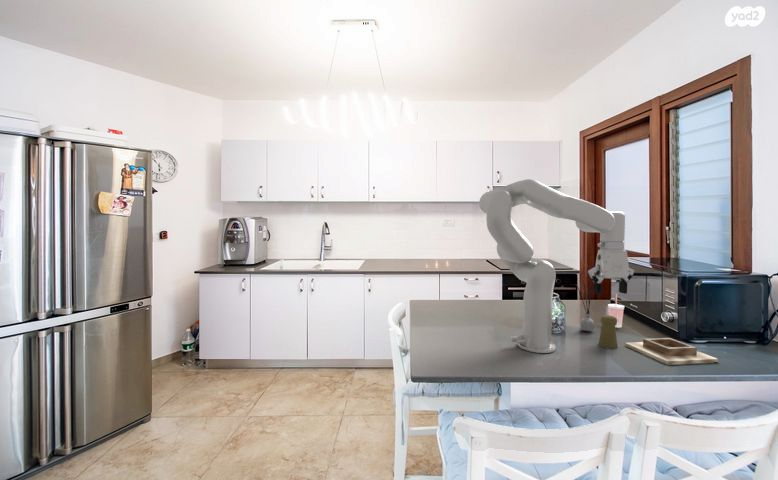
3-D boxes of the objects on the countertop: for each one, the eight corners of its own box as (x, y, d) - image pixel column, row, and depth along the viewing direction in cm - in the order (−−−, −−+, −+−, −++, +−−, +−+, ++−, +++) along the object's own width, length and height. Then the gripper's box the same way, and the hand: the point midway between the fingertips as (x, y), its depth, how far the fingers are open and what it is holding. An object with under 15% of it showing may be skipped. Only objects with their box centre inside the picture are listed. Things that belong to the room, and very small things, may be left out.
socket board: (667, 364, 119) (668, 353, 118) (625, 345, 137) (625, 335, 136) (717, 362, 121) (718, 351, 121) (669, 344, 139) (670, 334, 139)
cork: (617, 349, 133) (618, 318, 132) (597, 346, 136) (599, 316, 135) (617, 344, 138) (618, 315, 137) (598, 341, 141) (599, 312, 140)
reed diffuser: (597, 335, 149) (599, 285, 148) (578, 333, 151) (580, 284, 149) (588, 327, 159) (590, 280, 158) (571, 326, 161) (572, 280, 160)
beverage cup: (620, 328, 158) (621, 295, 157) (604, 325, 163) (605, 293, 162) (625, 326, 162) (627, 294, 161) (610, 323, 166) (611, 291, 166)
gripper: (596, 247, 130) (595, 296, 131) (642, 246, 132) (640, 294, 133) (582, 245, 137) (581, 292, 138) (626, 245, 140) (624, 290, 141)
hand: (610, 293), depth 136 cm, fingers open, 9 cm apart
